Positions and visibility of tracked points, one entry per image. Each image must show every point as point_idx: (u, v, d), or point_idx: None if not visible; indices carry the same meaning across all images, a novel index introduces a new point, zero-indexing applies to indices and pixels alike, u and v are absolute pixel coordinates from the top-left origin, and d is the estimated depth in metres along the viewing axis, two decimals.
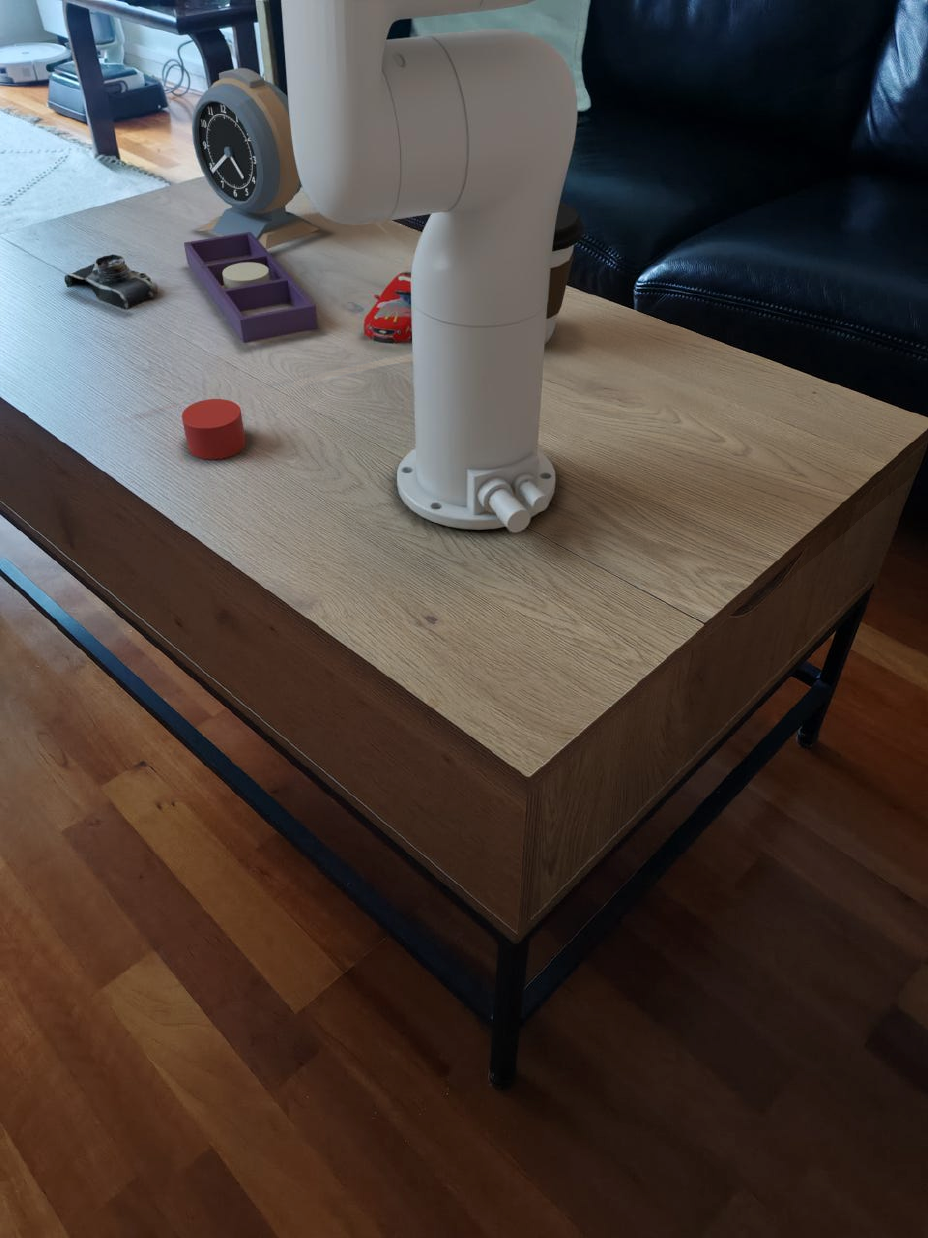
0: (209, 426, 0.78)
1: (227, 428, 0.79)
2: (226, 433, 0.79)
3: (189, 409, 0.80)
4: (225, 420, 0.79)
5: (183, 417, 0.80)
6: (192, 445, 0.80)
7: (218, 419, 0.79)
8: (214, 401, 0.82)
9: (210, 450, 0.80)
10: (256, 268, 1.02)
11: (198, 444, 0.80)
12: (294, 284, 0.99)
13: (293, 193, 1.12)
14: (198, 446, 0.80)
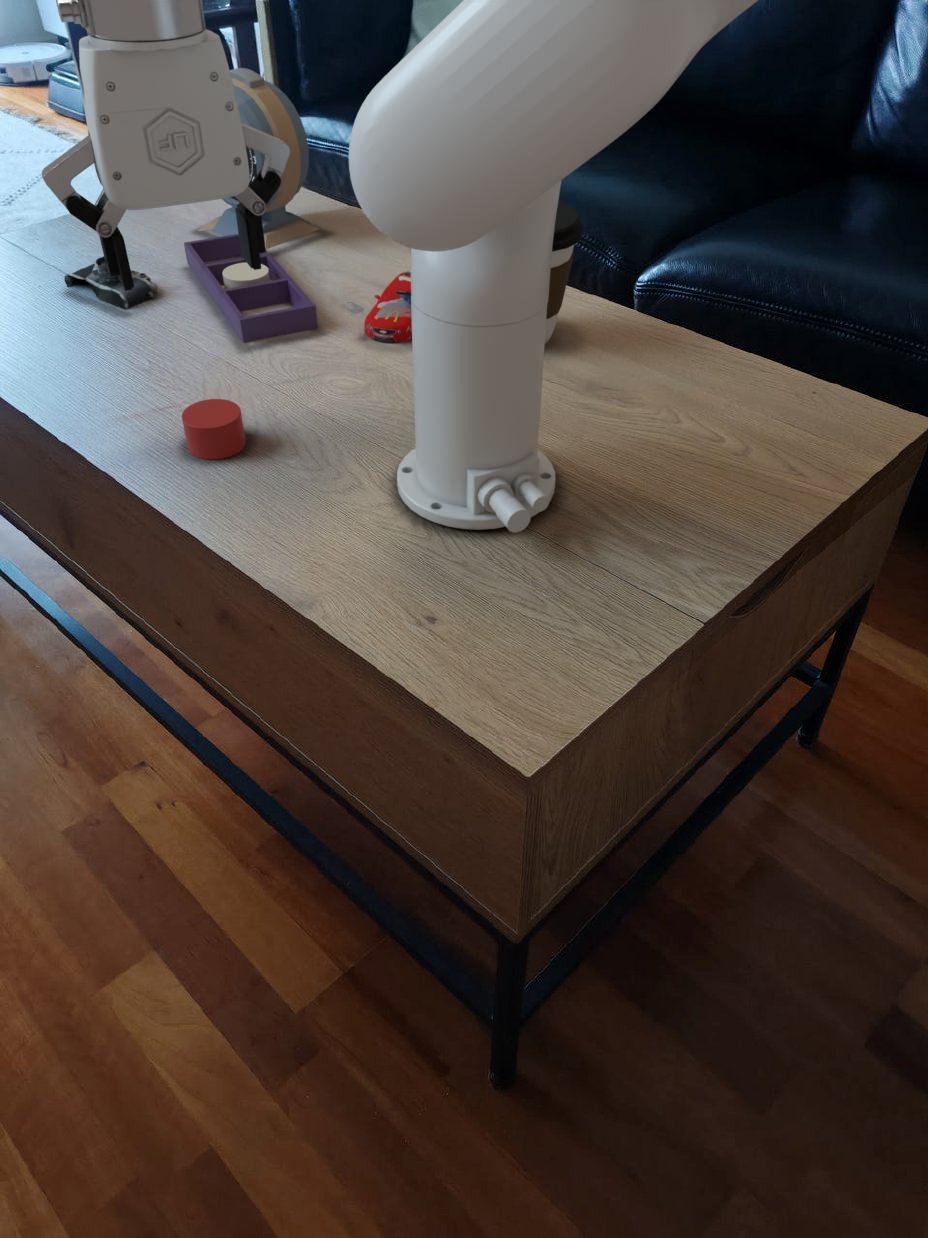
0: (209, 426, 0.78)
1: (227, 428, 0.79)
2: (226, 433, 0.79)
3: (189, 409, 0.80)
4: (225, 420, 0.79)
5: (183, 417, 0.80)
6: (192, 445, 0.80)
7: (218, 419, 0.79)
8: (214, 401, 0.82)
9: (210, 450, 0.80)
10: None
11: (198, 444, 0.80)
12: (294, 284, 0.99)
13: (293, 193, 1.12)
14: (198, 446, 0.80)
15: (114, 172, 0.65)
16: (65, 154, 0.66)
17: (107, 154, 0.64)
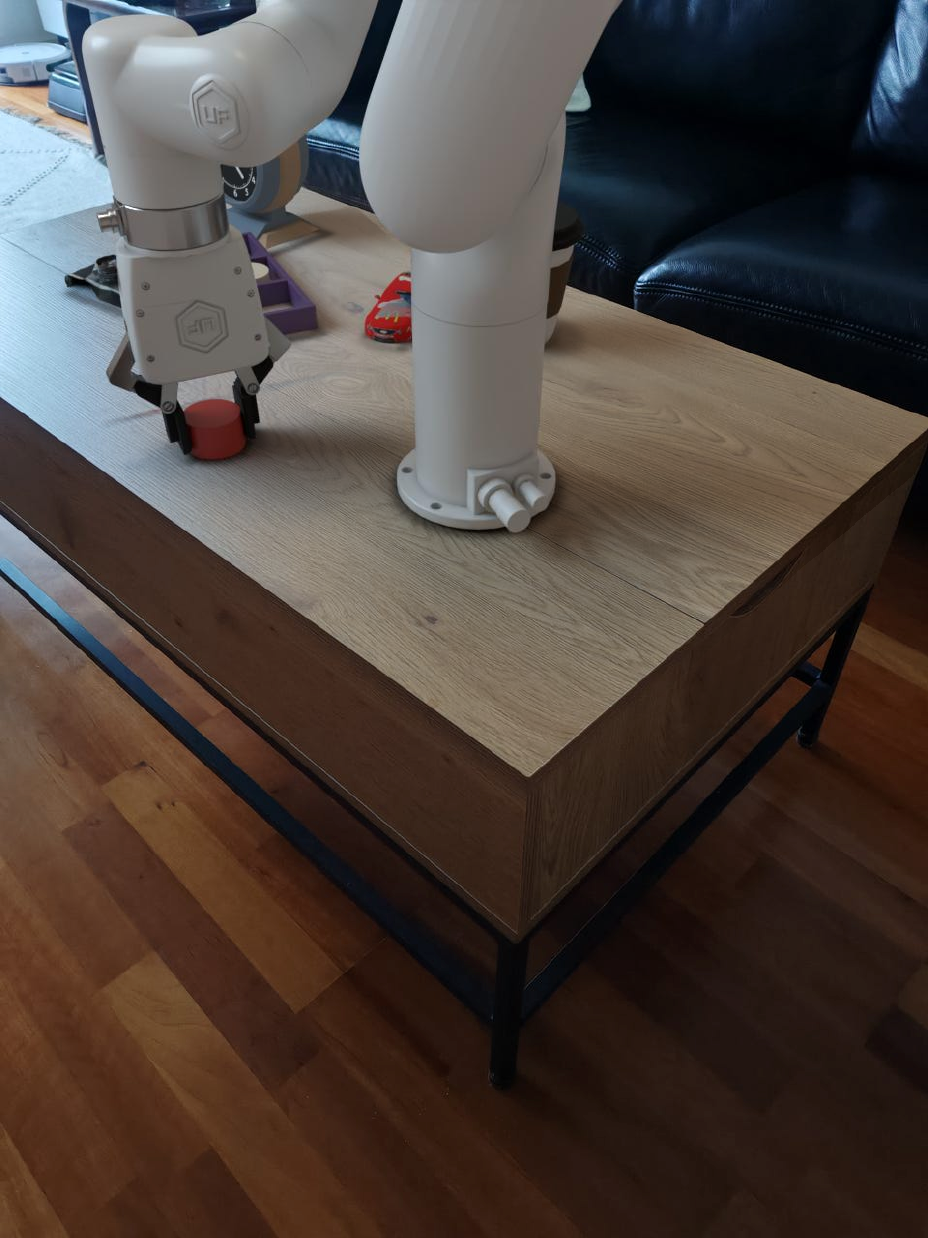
0: (208, 426, 0.78)
1: (227, 428, 0.79)
2: (226, 433, 0.79)
3: (189, 409, 0.80)
4: (225, 420, 0.79)
5: None
6: (192, 445, 0.80)
7: (218, 420, 0.79)
8: (214, 401, 0.82)
9: (210, 450, 0.80)
10: (256, 268, 1.02)
11: (198, 444, 0.80)
12: (294, 284, 0.99)
13: (293, 193, 1.12)
14: (198, 446, 0.80)
15: (148, 355, 0.72)
16: (117, 352, 0.74)
17: (142, 341, 0.71)
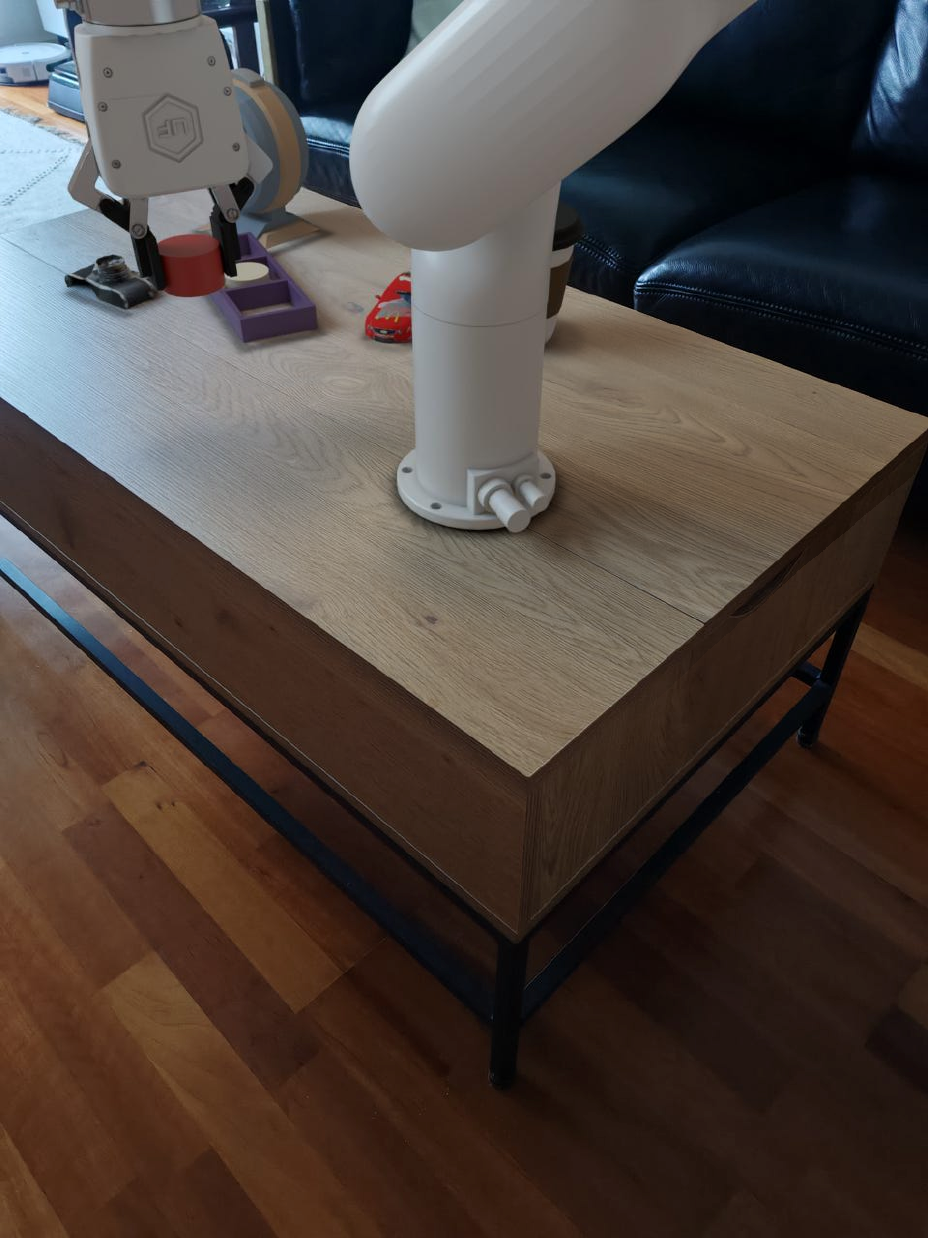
0: (184, 256, 0.71)
1: (205, 259, 0.71)
2: (203, 265, 0.72)
3: (162, 242, 0.73)
4: (202, 251, 0.72)
5: None
6: (166, 281, 0.72)
7: (194, 250, 0.72)
8: (190, 236, 0.74)
9: (186, 285, 0.72)
10: (256, 268, 1.02)
11: (173, 279, 0.72)
12: (294, 284, 0.99)
13: (293, 193, 1.12)
14: (173, 281, 0.72)
15: (113, 160, 0.65)
16: (79, 163, 0.66)
17: (106, 142, 0.64)
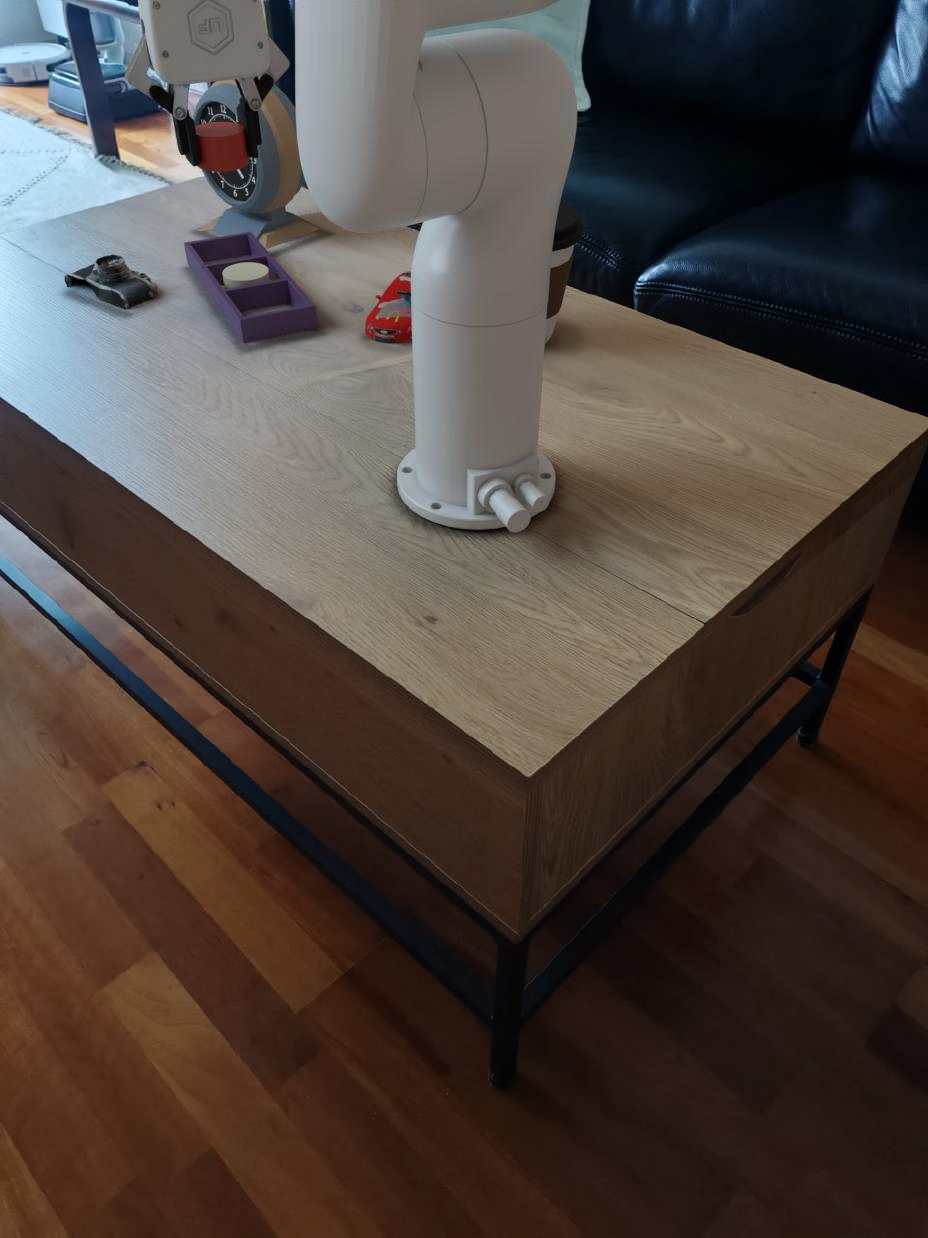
0: (216, 136, 0.88)
1: (232, 139, 0.88)
2: (231, 144, 0.88)
3: (197, 127, 0.90)
4: (231, 132, 0.88)
5: None
6: (200, 158, 0.89)
7: (224, 132, 0.88)
8: (220, 123, 0.91)
9: (217, 161, 0.89)
10: (256, 268, 1.02)
11: (206, 156, 0.89)
12: (294, 284, 0.99)
13: (293, 193, 1.12)
14: (206, 158, 0.89)
15: (163, 51, 0.81)
16: (135, 54, 0.83)
17: (157, 35, 0.80)
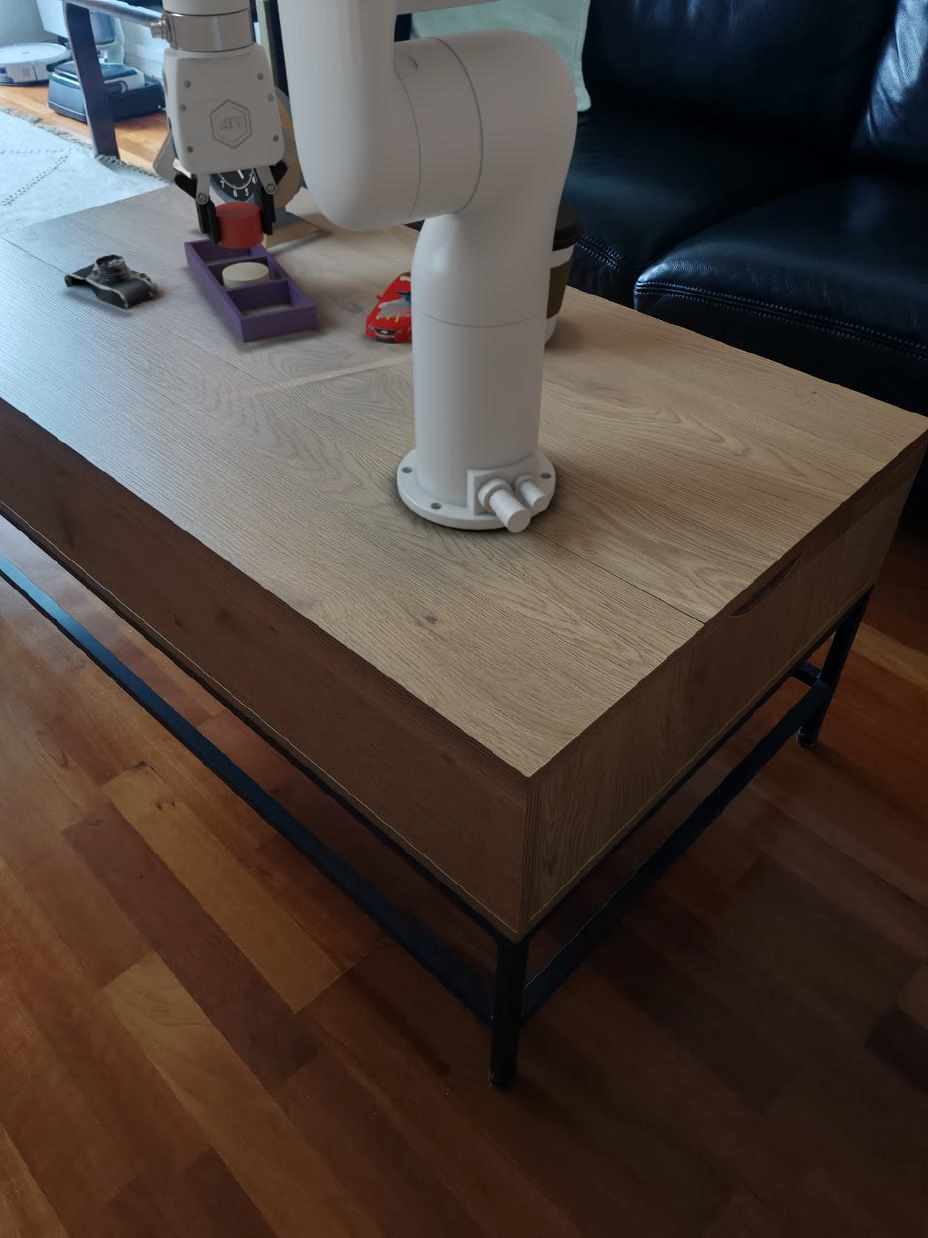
0: (234, 217, 0.96)
1: (249, 220, 0.97)
2: (248, 225, 0.97)
3: (217, 207, 0.98)
4: (248, 214, 0.97)
5: None
6: (220, 236, 0.98)
7: (242, 213, 0.97)
8: (238, 203, 0.99)
9: (235, 239, 0.97)
10: (256, 268, 1.02)
11: (226, 234, 0.97)
12: (294, 284, 0.99)
13: (293, 193, 1.12)
14: (225, 236, 0.97)
15: (188, 146, 0.90)
16: (162, 147, 0.91)
17: (183, 133, 0.89)
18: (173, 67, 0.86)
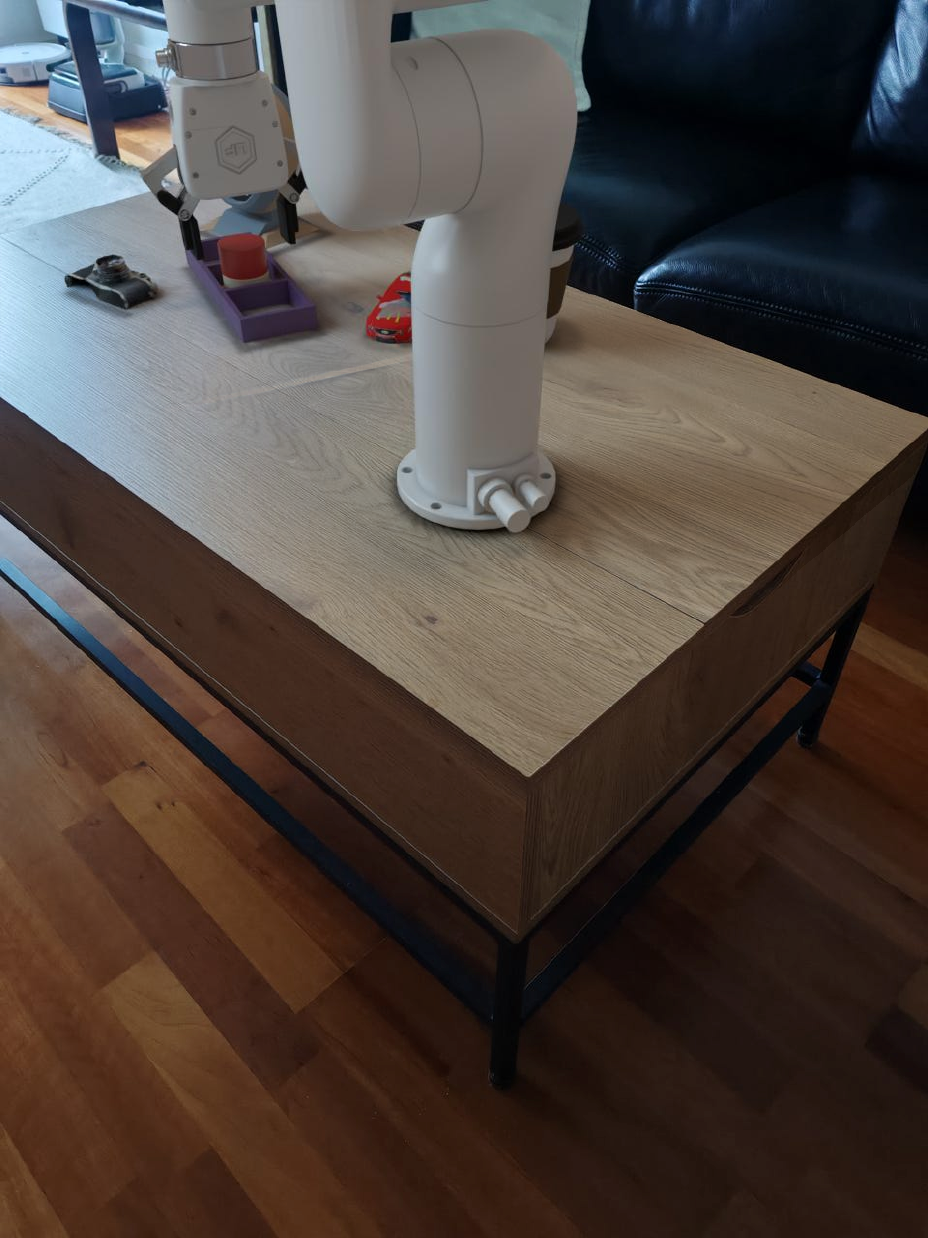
0: (239, 249, 0.98)
1: (254, 252, 0.99)
2: (253, 257, 0.99)
3: (223, 239, 1.00)
4: (252, 246, 0.99)
5: (218, 244, 0.99)
6: (225, 267, 1.00)
7: (247, 246, 0.99)
8: (243, 235, 1.01)
9: (240, 271, 0.99)
10: None
11: (231, 266, 0.99)
12: (294, 284, 0.99)
13: None
14: (230, 268, 0.99)
15: (193, 172, 0.91)
16: (157, 160, 0.92)
17: (189, 159, 0.90)
18: (179, 95, 0.87)
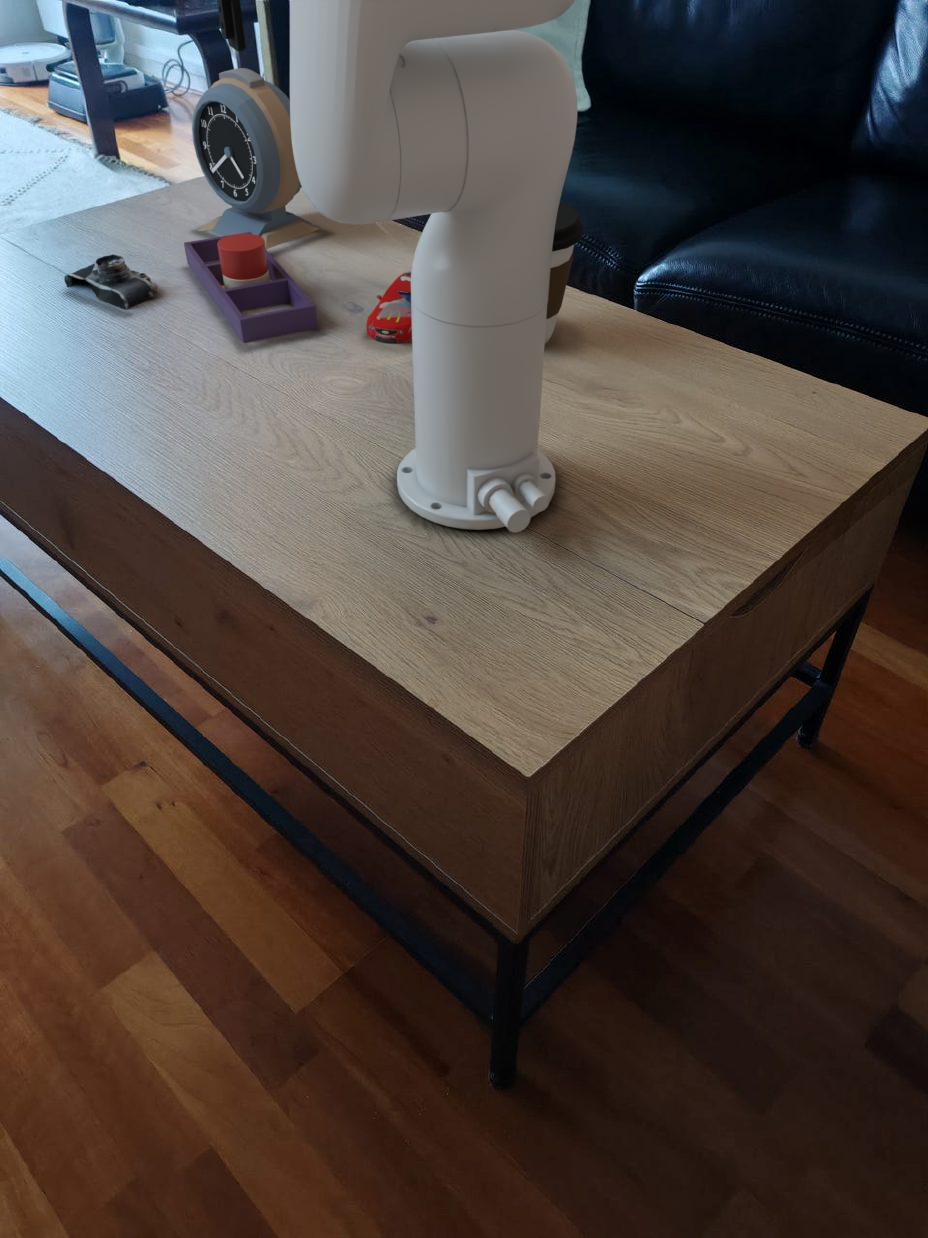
0: (239, 249, 0.98)
1: (254, 252, 0.99)
2: (253, 257, 0.99)
3: (223, 239, 1.00)
4: (252, 246, 0.99)
5: (218, 244, 0.99)
6: (225, 267, 1.00)
7: (247, 246, 0.99)
8: (243, 235, 1.01)
9: (240, 271, 0.99)
10: None
11: (231, 266, 0.99)
12: (294, 284, 0.99)
13: (293, 193, 1.12)
14: (230, 268, 0.99)
15: None
16: None
17: None
18: None
